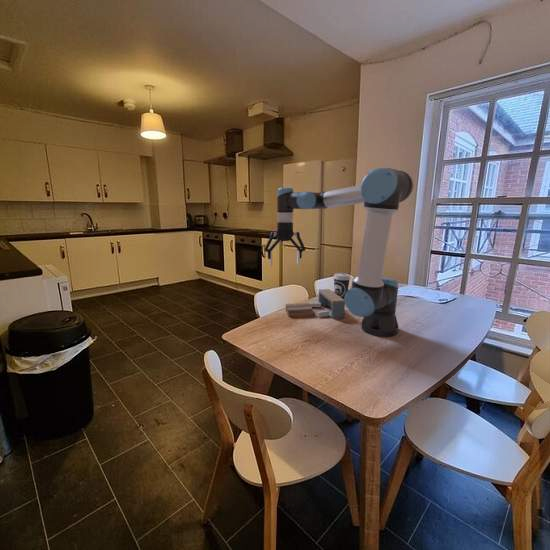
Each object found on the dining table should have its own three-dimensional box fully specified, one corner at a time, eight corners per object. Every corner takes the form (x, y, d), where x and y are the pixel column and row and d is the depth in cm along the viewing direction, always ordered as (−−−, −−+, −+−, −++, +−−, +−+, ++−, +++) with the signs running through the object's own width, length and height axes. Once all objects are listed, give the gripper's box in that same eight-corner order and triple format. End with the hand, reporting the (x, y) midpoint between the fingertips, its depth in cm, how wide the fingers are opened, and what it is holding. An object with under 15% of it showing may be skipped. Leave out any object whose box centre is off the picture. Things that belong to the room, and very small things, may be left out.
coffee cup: (351, 302, 162) (352, 276, 159) (333, 302, 162) (334, 276, 159) (347, 297, 171) (348, 272, 168) (330, 297, 171) (331, 272, 168)
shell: (312, 316, 143) (312, 308, 142) (288, 317, 141) (288, 309, 140) (308, 310, 151) (308, 303, 150) (285, 311, 150) (285, 303, 149)
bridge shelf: (343, 317, 140) (344, 300, 138) (319, 319, 138) (320, 301, 136) (328, 304, 160) (329, 289, 158) (307, 305, 157) (307, 290, 155)
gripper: (308, 221, 145) (307, 263, 150) (258, 221, 141) (258, 264, 146) (312, 221, 138) (311, 266, 143) (259, 222, 134) (260, 267, 139)
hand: (284, 265), depth 144 cm, fingers open, 13 cm apart
